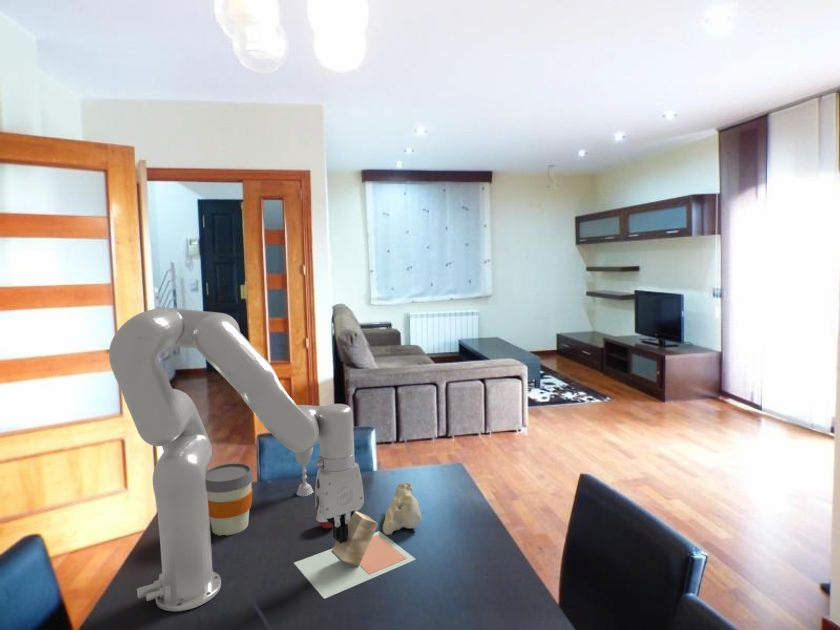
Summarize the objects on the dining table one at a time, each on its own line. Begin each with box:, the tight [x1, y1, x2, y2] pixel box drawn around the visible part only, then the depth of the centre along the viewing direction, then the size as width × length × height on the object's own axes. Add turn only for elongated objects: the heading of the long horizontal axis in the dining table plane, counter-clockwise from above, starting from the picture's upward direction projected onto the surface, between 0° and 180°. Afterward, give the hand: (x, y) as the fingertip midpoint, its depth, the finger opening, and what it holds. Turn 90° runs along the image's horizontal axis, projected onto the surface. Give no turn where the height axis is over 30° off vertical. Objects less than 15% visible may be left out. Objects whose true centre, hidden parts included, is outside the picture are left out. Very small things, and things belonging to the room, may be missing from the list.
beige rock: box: [382, 481, 422, 536], centre depth 135 cm, size 15×7×15 cm
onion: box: [315, 511, 333, 529], centre depth 133 cm, size 6×6×8 cm
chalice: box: [293, 446, 314, 497], centre depth 154 cm, size 7×7×18 cm
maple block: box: [331, 511, 379, 567], centre depth 117 cm, size 5×5×10 cm
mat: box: [293, 530, 417, 599], centre depth 118 cm, size 23×16×1 cm
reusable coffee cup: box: [205, 462, 254, 536], centre depth 135 cm, size 13×13×15 cm
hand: (340, 539), depth 115 cm, fingers closed
